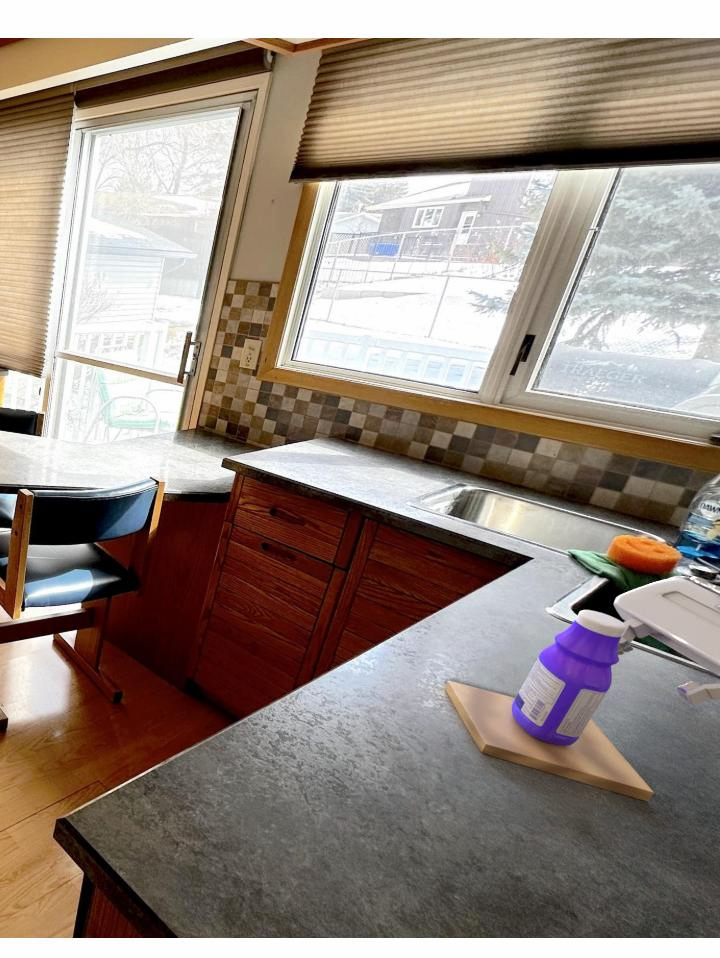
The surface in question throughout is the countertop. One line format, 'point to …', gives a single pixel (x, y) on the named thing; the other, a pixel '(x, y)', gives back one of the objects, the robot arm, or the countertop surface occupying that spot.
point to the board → (544, 744)
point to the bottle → (569, 679)
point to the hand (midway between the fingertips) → (645, 671)
